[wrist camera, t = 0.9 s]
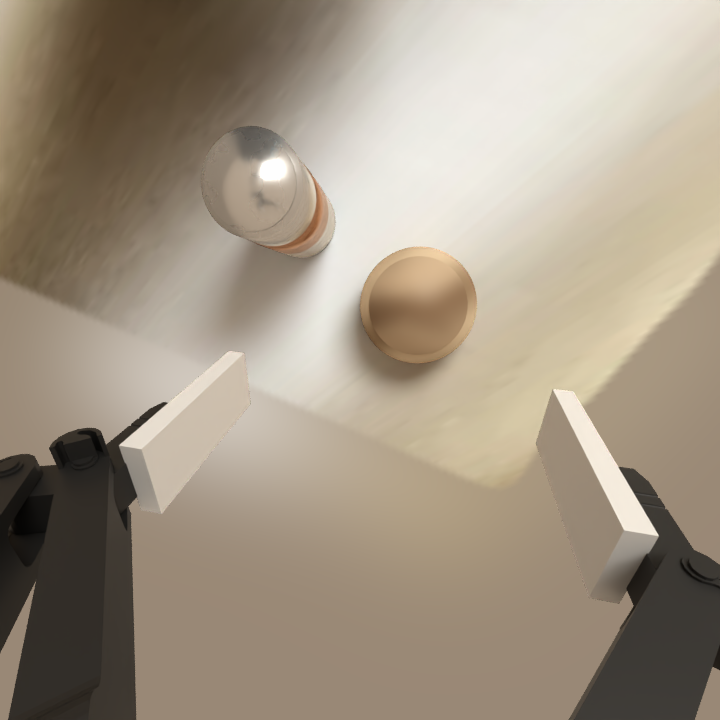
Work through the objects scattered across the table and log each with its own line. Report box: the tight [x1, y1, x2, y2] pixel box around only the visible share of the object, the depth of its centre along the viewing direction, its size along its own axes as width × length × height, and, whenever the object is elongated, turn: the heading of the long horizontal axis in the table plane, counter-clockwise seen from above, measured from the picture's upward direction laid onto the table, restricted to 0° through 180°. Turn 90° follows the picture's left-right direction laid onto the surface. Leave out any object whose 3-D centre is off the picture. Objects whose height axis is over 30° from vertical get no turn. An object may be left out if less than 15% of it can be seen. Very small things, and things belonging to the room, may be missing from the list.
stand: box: [360, 247, 477, 363], centre depth 34 cm, size 10×10×3 cm
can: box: [201, 126, 336, 258], centre depth 29 cm, size 7×7×12 cm
